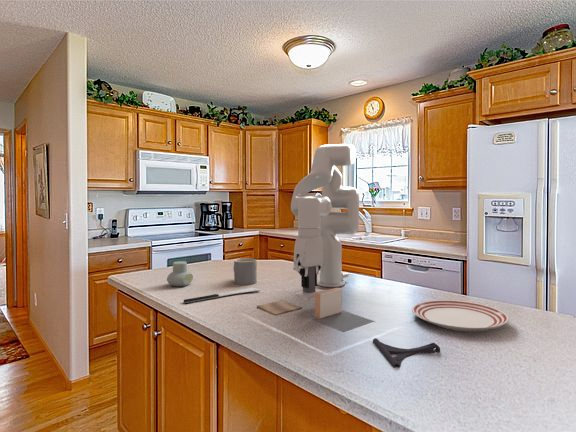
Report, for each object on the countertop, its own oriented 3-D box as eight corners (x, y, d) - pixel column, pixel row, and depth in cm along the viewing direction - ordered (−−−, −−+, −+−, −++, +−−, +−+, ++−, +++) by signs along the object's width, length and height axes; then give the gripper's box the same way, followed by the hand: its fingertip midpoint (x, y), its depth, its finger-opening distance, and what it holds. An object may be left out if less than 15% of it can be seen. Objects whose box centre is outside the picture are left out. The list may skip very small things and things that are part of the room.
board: (281, 302, 135) (281, 300, 135) (301, 310, 126) (301, 307, 126) (256, 308, 128) (256, 305, 128) (275, 317, 120) (275, 314, 120)
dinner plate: (409, 330, 108) (409, 319, 108) (413, 304, 134) (414, 295, 134) (517, 344, 98) (518, 332, 98) (500, 313, 124) (500, 303, 124)
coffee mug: (260, 283, 164) (260, 260, 164) (239, 286, 159) (239, 263, 159) (247, 277, 176) (247, 256, 175) (228, 279, 171) (227, 258, 170)
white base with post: (295, 296, 125) (294, 263, 124) (316, 291, 131) (316, 260, 131) (306, 299, 120) (306, 266, 120) (328, 294, 126) (328, 262, 126)
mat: (336, 310, 126) (336, 308, 126) (374, 323, 114) (374, 321, 114) (306, 319, 118) (306, 317, 118) (343, 333, 105) (343, 331, 105)
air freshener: (180, 289, 155) (180, 265, 154) (164, 287, 158) (163, 264, 157) (195, 283, 165) (195, 260, 164) (180, 281, 168) (179, 259, 167)
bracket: (454, 367, 87) (454, 355, 87) (393, 370, 85) (393, 358, 85) (425, 342, 101) (425, 332, 101) (372, 345, 100) (372, 334, 99)
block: (337, 311, 124) (337, 287, 123) (342, 312, 122) (342, 288, 121) (315, 317, 117) (315, 292, 117) (320, 319, 116) (320, 294, 115)
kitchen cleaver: (250, 285, 158) (261, 287, 150) (250, 289, 158) (262, 291, 150) (177, 297, 141) (186, 300, 132) (178, 302, 141) (186, 305, 132)
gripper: (319, 230, 133) (319, 280, 135) (283, 233, 123) (283, 288, 125) (334, 232, 128) (333, 285, 129) (297, 236, 117) (298, 293, 119)
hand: (309, 286), depth 127 cm, fingers closed on white base with post, 3 cm apart
